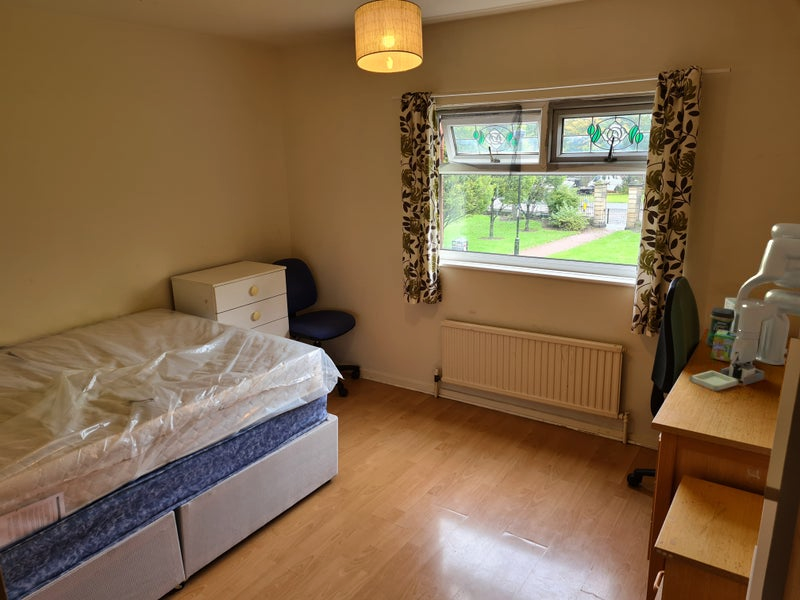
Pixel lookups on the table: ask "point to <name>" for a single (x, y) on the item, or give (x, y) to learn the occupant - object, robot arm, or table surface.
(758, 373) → the bay
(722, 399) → the table surface
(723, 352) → the chalk box
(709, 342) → the coffee jar
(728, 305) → the hard drive box
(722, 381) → the dock tray
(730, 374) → the grey box with knob
